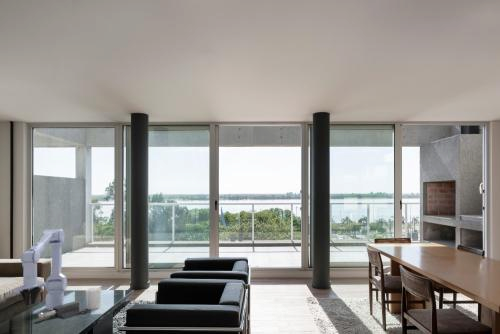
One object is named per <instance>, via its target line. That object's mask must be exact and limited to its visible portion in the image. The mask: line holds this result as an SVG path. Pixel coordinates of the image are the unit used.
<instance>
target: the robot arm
mask: <svg viewBox="0 0 500 334" xmlns="http://www.w3.org/2000/svg"><path fill="white" fill-rule="evenodd" d="M41 234H42V235H41V237H40V239H39V241H37V242H35V243H34V244H33V245H32V246H31V247H30V248H29V249H28V250H27V251H24V252H22V253H21V256H20V257H21V258H20V262H21V264H22V268H23V274H22V276H23V278H22V279H23V282H22V283H23V285H21V286H18V287H14V288H13V293H15V294H16V293H19V294H20V295H21V296H22V298H23V301H24V304H25V305H24V306H30V304H31V305H35V304H36V301H37V297H38V295H39V293H40V291H41V287H45V290H46V292H47V294H46V295H45V307H44V308H43V309H44V310H49V311H53V307H56V306H59V305H63V304H65V302H64V299H65V297H64V294H65V291H66V290H67V288H68V279H67V275H64V273H62V263H63V262H62V261H63V260H62V258H63V257H62V256H63V255H62V253H63V244H64V243H65V241H66V240H65V239H66V238H65V237H66V236H65V235H66V233H65V230H64V229H62V228H60V229H44V230H43V231H42V233H41ZM48 244H49V245H50V246H51V274H50V275H49V276H48V277H47V278H46V281H42V282H41V281H40V282H38V262H39V261H40V258H41V255H42V253H43V252H44V251H45V250H46V246H47V245H48Z"/></svg>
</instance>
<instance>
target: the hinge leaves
mask: <svg viewBox="0 0 500 334" xmlns="http://www.w3.org/2000/svg"><path fill="white" fill-rule="evenodd" d="M53 310H57V315H53V316H52V317H55V316H56V317H57V318H61V319H68V318H71V317H74V316H73V315H75V316H77V315H76V314H78V315H80V314H79V313H81V314H83V313H82V312H84V313H86V312H87V308H85V309H84V308H80V302H79V301H70V302H68V303H64V304H63V305H59V306H56V307H53ZM53 310H52V311H53ZM50 311H51V310H49V311H48V312H50Z"/></svg>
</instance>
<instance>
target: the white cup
mask: <svg viewBox="0 0 500 334" xmlns="http://www.w3.org/2000/svg"><path fill="white" fill-rule="evenodd" d="M101 299H102V287H90V288H86V290H85V300H86V310H95V309H96V310H97V309H99V308H101Z"/></svg>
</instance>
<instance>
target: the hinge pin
mask: <svg viewBox="0 0 500 334" xmlns="http://www.w3.org/2000/svg"><path fill="white" fill-rule="evenodd" d="M49 311H50V312H49ZM49 311H46V312H39V313H38V314H37V319H38V320H39V321H43V320H44V319H46V318H49V317H54V316H53V315H56V316H57V310H49Z"/></svg>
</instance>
